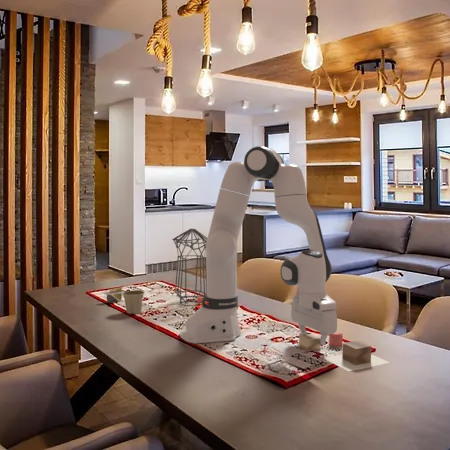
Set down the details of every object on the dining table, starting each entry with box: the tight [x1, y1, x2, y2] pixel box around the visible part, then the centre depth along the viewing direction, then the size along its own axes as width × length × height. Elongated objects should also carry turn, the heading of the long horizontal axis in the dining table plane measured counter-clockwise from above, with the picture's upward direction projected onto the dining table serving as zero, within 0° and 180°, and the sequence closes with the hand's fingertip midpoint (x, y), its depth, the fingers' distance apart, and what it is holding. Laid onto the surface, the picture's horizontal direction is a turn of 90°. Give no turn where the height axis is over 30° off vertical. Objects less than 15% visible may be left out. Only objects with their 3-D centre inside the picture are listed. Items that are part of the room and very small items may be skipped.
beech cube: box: [298, 333, 321, 352], centre depth 162 cm, size 5×5×5 cm
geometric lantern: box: [172, 228, 208, 307], centre depth 226 cm, size 16×16×35 cm
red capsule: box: [328, 331, 343, 348], centre depth 166 cm, size 4×4×5 cm
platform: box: [103, 287, 125, 304], centre depth 231 cm, size 12×18×7 cm, turn 135°
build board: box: [323, 353, 391, 373], centre depth 151 cm, size 16×12×1 cm
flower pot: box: [121, 289, 145, 315], centre depth 211 cm, size 9×9×9 cm
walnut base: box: [341, 340, 372, 365], centre depth 150 cm, size 6×6×5 cm
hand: (312, 340), depth 163 cm, fingers open, 8 cm apart
